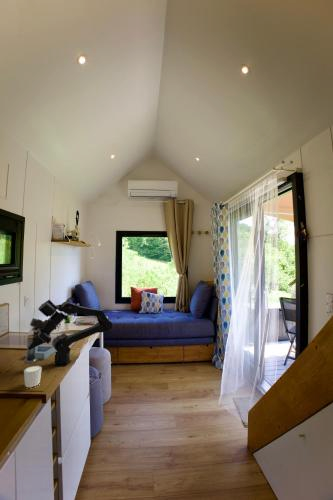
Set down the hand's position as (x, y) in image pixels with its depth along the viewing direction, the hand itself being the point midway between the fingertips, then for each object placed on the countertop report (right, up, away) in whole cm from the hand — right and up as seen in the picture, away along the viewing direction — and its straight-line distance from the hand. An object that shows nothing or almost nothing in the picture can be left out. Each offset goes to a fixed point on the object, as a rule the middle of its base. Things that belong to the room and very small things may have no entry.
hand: (28, 348), depth 122 cm
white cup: (+10, -11, -14) cm, 20 cm away
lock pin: (+1, -7, 0) cm, 7 cm away
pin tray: (-4, -12, +20) cm, 24 cm away
